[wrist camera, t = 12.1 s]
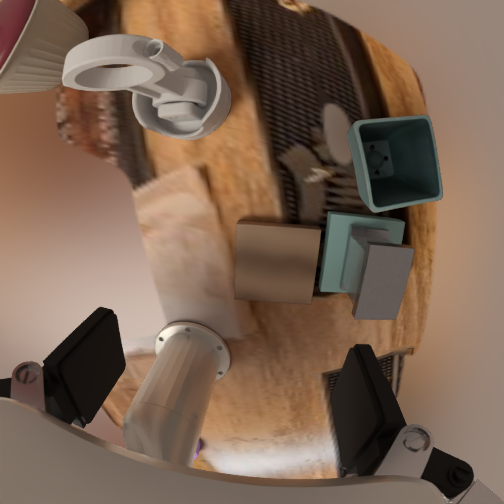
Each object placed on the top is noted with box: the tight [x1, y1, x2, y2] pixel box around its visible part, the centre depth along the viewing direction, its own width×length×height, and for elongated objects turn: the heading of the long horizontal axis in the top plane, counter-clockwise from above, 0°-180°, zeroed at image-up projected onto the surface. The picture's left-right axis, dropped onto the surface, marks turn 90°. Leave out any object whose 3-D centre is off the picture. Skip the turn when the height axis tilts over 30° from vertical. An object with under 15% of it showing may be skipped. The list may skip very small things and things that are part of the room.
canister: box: [0, 0, 89, 94], centre depth 17 cm, size 18×18×21 cm
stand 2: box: [319, 211, 405, 293], centre depth 33 cm, size 10×10×2 cm
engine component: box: [62, 34, 231, 140], centre depth 20 cm, size 11×20×10 cm
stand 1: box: [234, 220, 321, 305], centre depth 34 cm, size 10×10×2 cm
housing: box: [339, 225, 415, 320], centre depth 28 cm, size 8×5×8 cm, turn 177°
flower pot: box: [347, 115, 443, 213], centre depth 26 cm, size 9×9×9 cm
